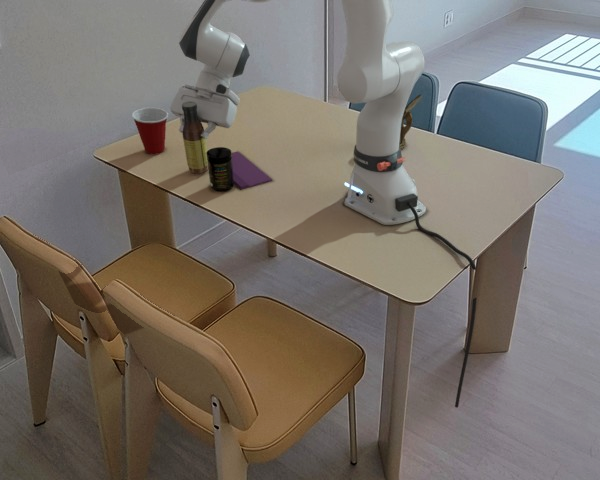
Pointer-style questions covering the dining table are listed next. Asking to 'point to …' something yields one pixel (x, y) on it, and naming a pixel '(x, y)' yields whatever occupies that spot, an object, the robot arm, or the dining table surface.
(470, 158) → the dining table surface
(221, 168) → the supplement container
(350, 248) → the dining table surface
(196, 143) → the sauce bottle
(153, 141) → the plastic cup
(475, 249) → the dining table surface
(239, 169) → the purple flat rectangular panel
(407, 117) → the wooden mug
